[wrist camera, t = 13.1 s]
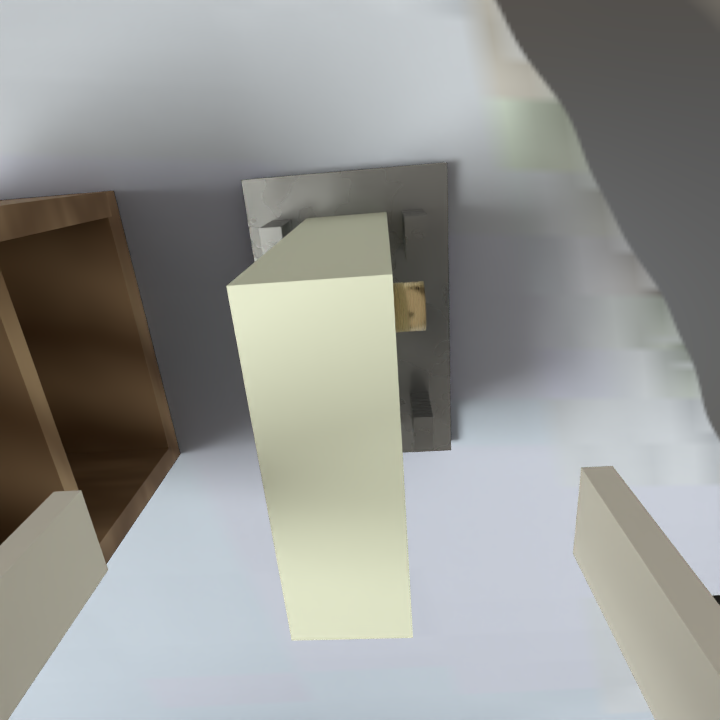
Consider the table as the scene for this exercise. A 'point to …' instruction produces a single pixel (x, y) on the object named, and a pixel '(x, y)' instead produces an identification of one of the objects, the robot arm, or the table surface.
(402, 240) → the grey pegged base plate
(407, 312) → the door panel
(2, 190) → the table surface
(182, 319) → the table surface
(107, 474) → the cabinet
